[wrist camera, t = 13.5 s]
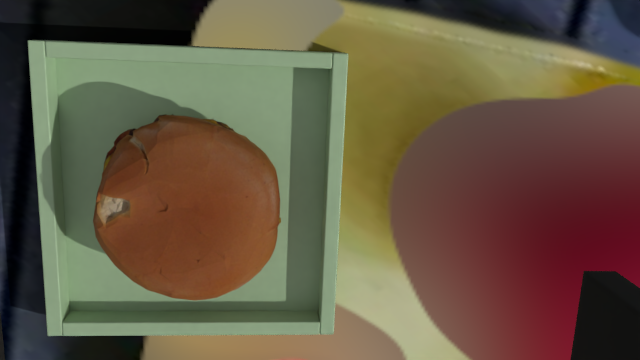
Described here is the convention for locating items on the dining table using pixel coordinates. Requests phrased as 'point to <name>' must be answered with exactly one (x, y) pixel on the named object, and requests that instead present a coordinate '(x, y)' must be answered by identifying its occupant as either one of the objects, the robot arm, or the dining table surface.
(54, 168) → the serving tray
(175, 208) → the burger
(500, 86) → the dining table surface
